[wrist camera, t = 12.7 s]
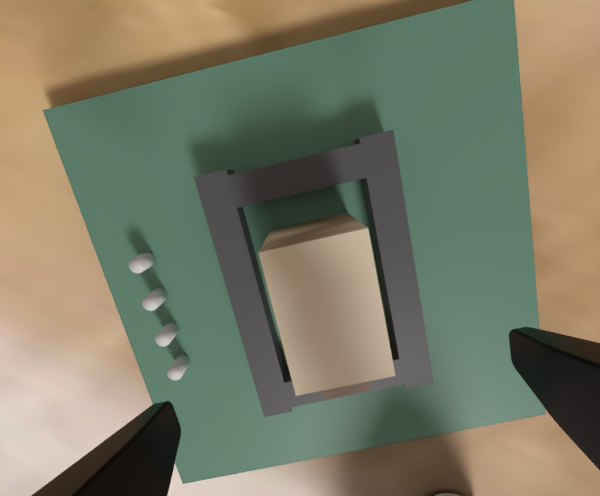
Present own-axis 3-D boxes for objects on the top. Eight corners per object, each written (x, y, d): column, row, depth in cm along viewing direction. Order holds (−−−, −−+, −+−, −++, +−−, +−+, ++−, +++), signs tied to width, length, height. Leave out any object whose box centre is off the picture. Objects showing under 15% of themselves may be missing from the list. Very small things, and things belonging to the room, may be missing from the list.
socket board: (499, 1, 15) (537, -32, 13) (533, 402, 20) (566, 433, 17) (58, 114, 16) (15, 103, 14) (188, 469, 21) (173, 508, 18)
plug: (347, 212, 16) (368, 228, 11) (371, 333, 18) (398, 393, 13) (270, 229, 17) (258, 252, 12) (300, 348, 18) (300, 413, 13)
